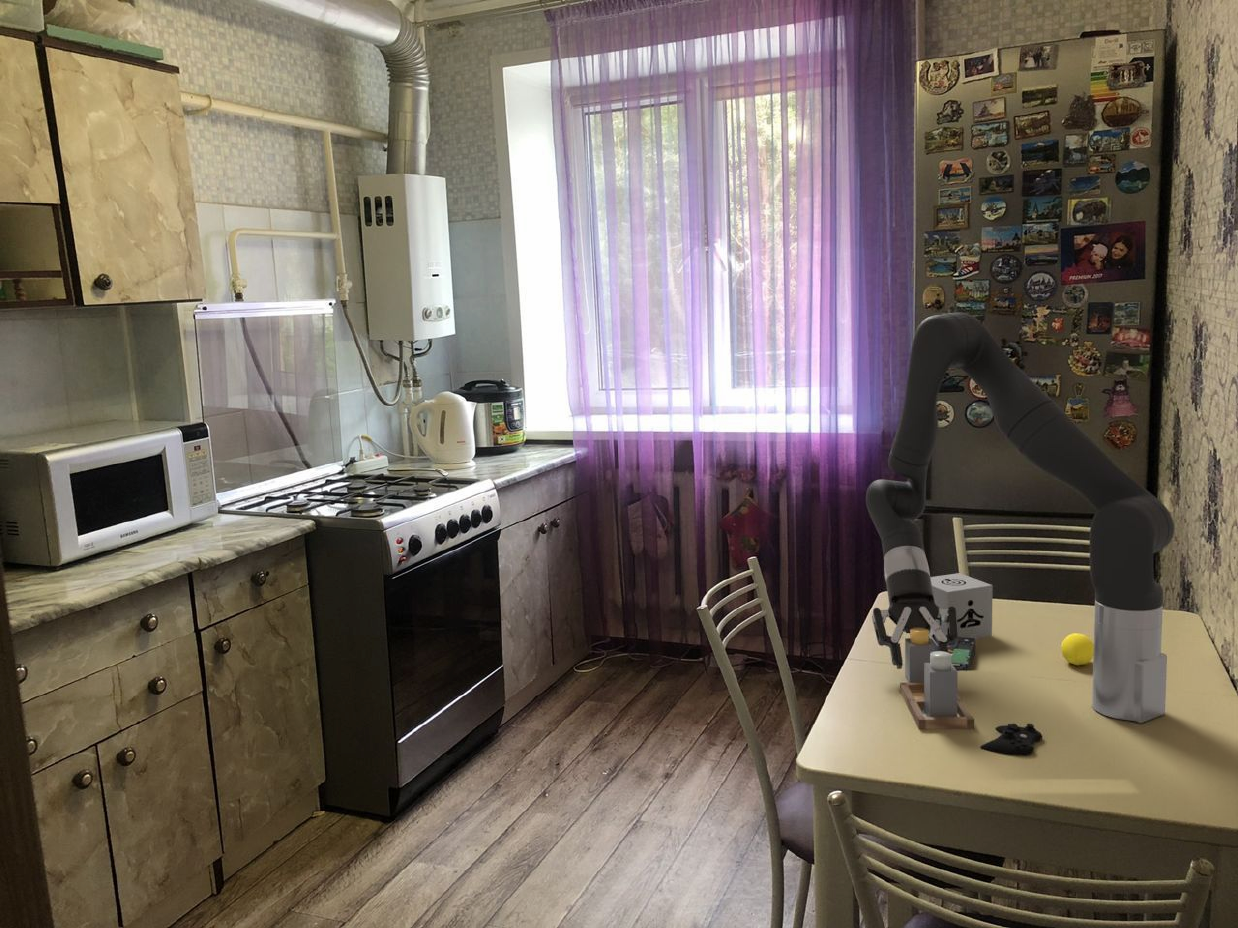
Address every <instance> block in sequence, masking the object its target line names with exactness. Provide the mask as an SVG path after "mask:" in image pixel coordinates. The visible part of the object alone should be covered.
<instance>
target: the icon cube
mask: <svg viewBox="0 0 1238 928" xmlns="http://www.w3.org/2000/svg"><path fill="white" fill-rule="evenodd" d="M930 578H931V584H932V590H933V595H934V601H935V604H936V605H937V607H938V608H939V609H949V607H954V608H955V609H956V620H957V634H958V636H957V637H962V638H975V640H976V639H983V638H987V637H993V584H991V583H987V582H985V581H982V580H980V579H976V578H974V577H971V576H968V575H965V574H963V573H960V572H958V573H951V574H945V575H944V574H943V575H936V576H930ZM935 621H936V623H937V624H938V625H939V627H940V630H941V631H942V632H943V633H944V635H945V636H946V635H947V623H946V622H944V621H943V620H942V617H941V616H938V617H937V618H936V620H935Z"/></svg>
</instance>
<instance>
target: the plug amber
mask: <svg viewBox="0 0 1238 928" xmlns="http://www.w3.org/2000/svg"><path fill="white" fill-rule="evenodd" d="M909 634H910V635H909V638H908V637H907V638H905V637H904V638H905V640H904V657H905V658H904V675H905V679H906V681H907V683H915V682H924V663H930V653H932V652H935V646H934V644H933V643H932V641H931V640H930V638H929V630H928V629H925V628H912V629H911V630H910V633H909Z"/></svg>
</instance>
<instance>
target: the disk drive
mask: <svg viewBox="0 0 1238 928" xmlns="http://www.w3.org/2000/svg"><path fill="white" fill-rule="evenodd" d="M930 640H931V641H932V643H933V644H934V646H935V651H937V647H938V646H937V645H936V643H935V642H934V641H933V640H932V639H930ZM947 647H948V653H950V654H951V663H952V665H953V666H954V668H955V669H956V671H957V672H959V671H964V672H967V671H971V667H972V663H973V658H974V656H975V651H976V639H975V638H962V637H957V639H956V641H955V644H954V645H948V646H947Z"/></svg>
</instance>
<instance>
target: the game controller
mask: <svg viewBox="0 0 1238 928" xmlns="http://www.w3.org/2000/svg"><path fill="white" fill-rule="evenodd" d="M995 731H996V732H997V733H999V734H1001V735H1000V736H998V737H997V738H995V739H993V740H990V741H988V742H986V743H984V744H982V745H981V746H980V747H979V749H980V750H983V751H987V752H989V753H990V752H991V753H995V754H1000V755H1006V756H1029V755H1031V754H1033V752H1034V749H1035V748H1034V744H1035V743H1040V741H1041V740H1042V739H1043V734H1042V733H1041V732H1040V731H1038V730H1037V729H1036V727H1035V725H1034V724H1032V723H1026V726H1020V725H1017V723H1008V724H1003V725H997V726H996V727H995Z"/></svg>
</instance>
